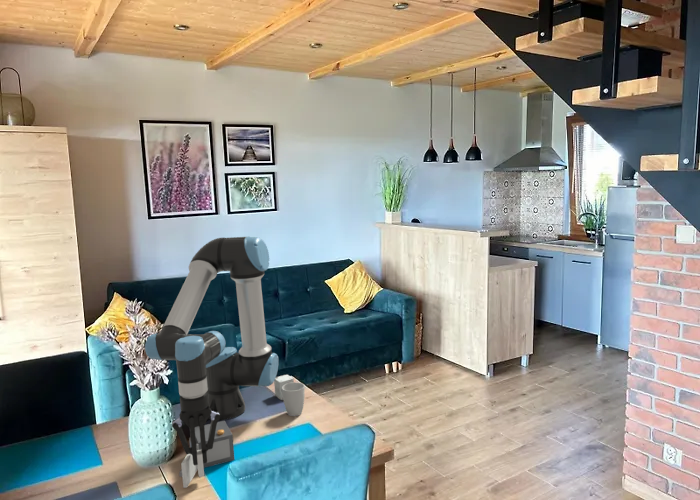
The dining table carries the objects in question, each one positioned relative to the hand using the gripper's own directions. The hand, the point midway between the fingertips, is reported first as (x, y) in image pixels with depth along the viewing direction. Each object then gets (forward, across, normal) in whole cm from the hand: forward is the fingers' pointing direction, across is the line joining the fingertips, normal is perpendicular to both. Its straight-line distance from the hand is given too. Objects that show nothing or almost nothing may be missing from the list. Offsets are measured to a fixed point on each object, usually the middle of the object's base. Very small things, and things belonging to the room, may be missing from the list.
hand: (201, 474), depth 145 cm
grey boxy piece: (+2, -5, -13) cm, 14 cm away
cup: (+3, -35, -32) cm, 48 cm away
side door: (+2, +3, -3) cm, 4 cm away
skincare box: (+3, -36, -49) cm, 61 cm away
